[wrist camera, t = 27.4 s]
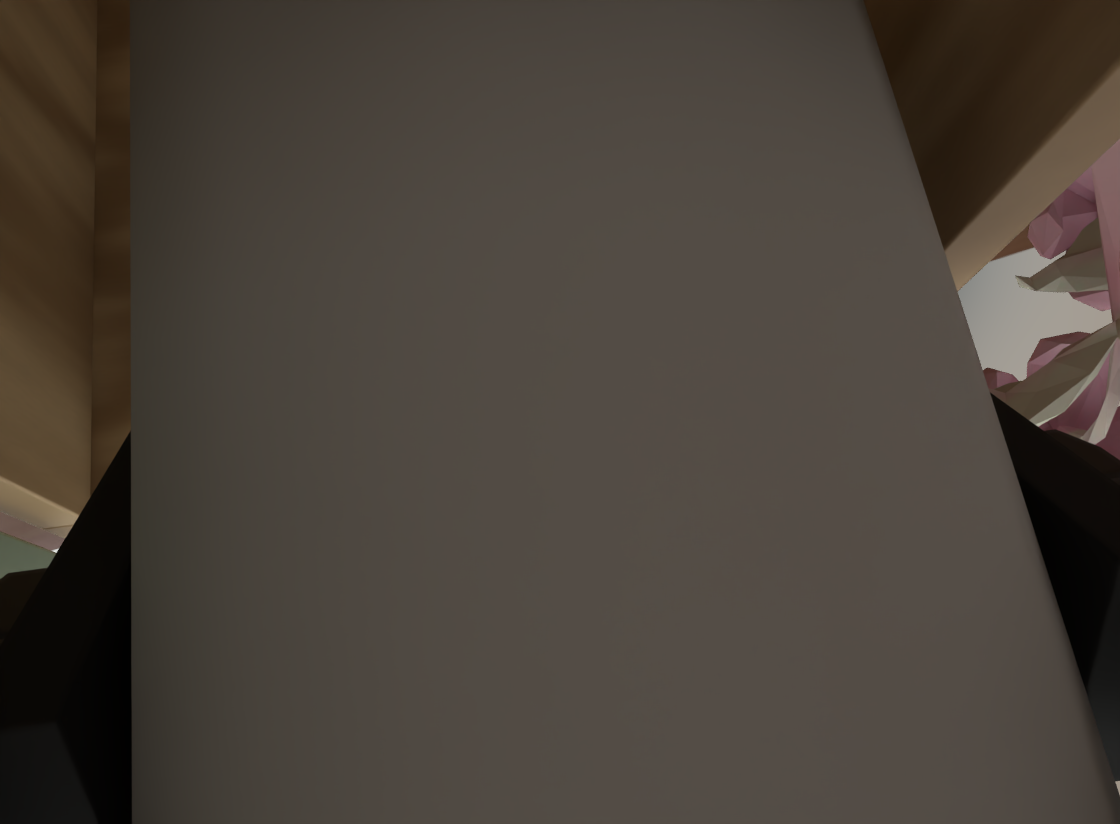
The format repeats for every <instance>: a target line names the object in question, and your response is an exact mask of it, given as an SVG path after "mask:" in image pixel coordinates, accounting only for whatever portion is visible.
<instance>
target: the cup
mask: <svg viewBox="0 0 1120 824" xmlns="http://www.w3.org/2000/svg"><path fill="white" fill-rule="evenodd" d="M130 281H131V668H132V824H1120V795H1119V792H1118V789H1117V786H1116V783H1115V780H1114V777H1113V774H1112V771H1111V767H1110V764H1109V761H1108V758H1107V755H1106V752H1105V749H1104V746H1103V743H1102V740H1101V736H1100V733H1099V730H1098V727H1097V724H1096V721H1095V718H1094V715H1093V712H1092V708H1091V705H1090V702H1089V699H1088V696H1087V693H1086V690H1085V687H1084V684H1083V681H1082V677H1081V674H1080V671H1079V668H1078V665H1077V662H1076V659H1075V656H1074V653H1073V649H1072V646H1071V643H1070V640H1069V637H1068V634H1067V631H1066V628H1065V625H1064V621H1063V618H1062V615H1061V612H1060V609H1059V606H1058V603H1057V600H1056V597H1055V594H1054V590H1053V587H1052V584H1051V581H1050V578H1049V575H1048V572H1047V569H1046V566H1045V562H1044V559H1043V556H1042V553H1041V550H1040V547H1039V544H1038V541H1037V538H1036V535H1035V531H1034V528H1033V525H1032V522H1031V519H1030V516H1029V513H1028V510H1027V507H1026V503H1025V500H1024V497H1023V494H1022V491H1021V488H1020V485H1019V482H1018V479H1017V475H1016V472H1015V469H1014V466H1013V463H1012V460H1011V457H1010V454H1009V451H1008V448H1007V444H1006V441H1005V438H1004V435H1003V432H1002V429H1001V426H1000V423H999V420H998V416H997V413H996V410H995V407H994V404H993V401H992V398H991V395H990V392H989V389H988V385H987V382H986V379H985V376H984V373H983V370H982V367H981V364H980V361H979V357H978V354H977V351H976V348H975V345H974V342H973V339H972V336H971V333H970V329H969V327H968V323H967V320H966V317H965V314H964V311H963V308H962V305H961V302H960V298H959V295H958V292H957V289H956V286H955V283H954V280H953V277H952V274H951V270H950V267H949V264H948V261H947V258H946V255H945V252H944V249H943V246H942V243H941V239H940V236H939V233H938V230H937V227H936V224H935V221H934V218H933V215H932V211H931V208H930V205H929V202H928V199H927V196H926V193H925V190H924V187H923V183H922V180H921V177H920V174H919V171H918V168H917V165H916V162H915V159H914V156H913V152H912V149H911V146H910V143H909V140H908V137H907V134H906V131H905V128H904V124H903V121H902V118H901V115H900V112H899V109H898V106H897V103H896V100H895V97H894V93H893V90H892V87H891V84H890V81H889V78H888V75H887V72H886V69H885V65H884V62H883V59H882V56H881V53H880V50H879V47H878V44H877V41H876V37H875V34H874V31H873V28H872V25H871V22H870V19H869V16H868V13H867V10H866V6H865V3H864V0H130Z"/></svg>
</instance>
